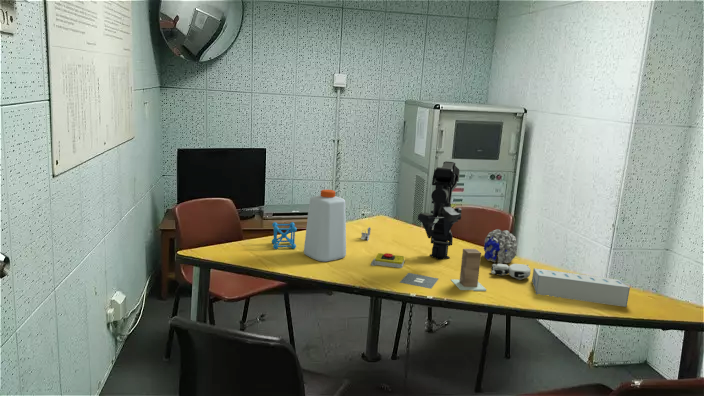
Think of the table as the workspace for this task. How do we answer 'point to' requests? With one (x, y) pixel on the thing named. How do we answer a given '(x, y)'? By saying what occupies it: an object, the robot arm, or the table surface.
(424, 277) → the gray square plate
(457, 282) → the pad
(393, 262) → the emergency button
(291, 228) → the molecular structure
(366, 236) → the architectural model
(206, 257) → the table surface
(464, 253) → the walnut block
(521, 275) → the robot toy
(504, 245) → the educational model
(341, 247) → the plastic bottle
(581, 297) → the warehouse
